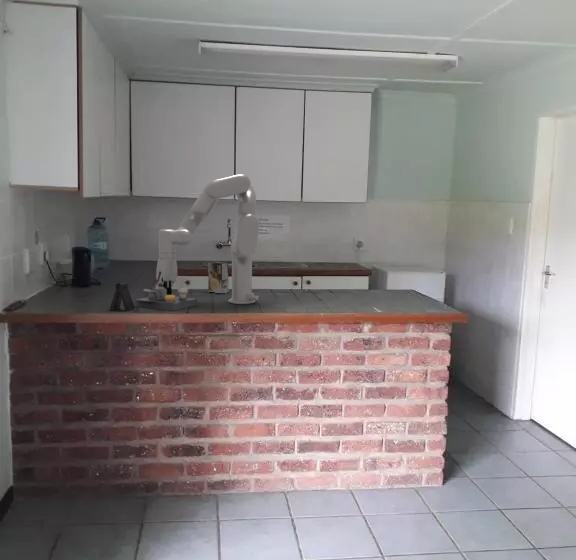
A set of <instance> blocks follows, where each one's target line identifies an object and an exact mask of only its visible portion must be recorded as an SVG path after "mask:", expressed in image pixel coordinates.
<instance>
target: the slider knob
mask: <svg viewBox="0 0 576 560" xmlns="http://www.w3.org/2000/svg"><path fill="white" fill-rule="evenodd" d="M156 290H157V299H165V295H167V289H165V287H163V286H159V287H158V288H157V289H156Z"/></svg>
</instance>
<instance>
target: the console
mask: <svg viewBox="0 0 576 560" xmlns="http://www.w3.org/2000/svg"><path fill="white" fill-rule="evenodd" d="M196 306H198V299H197V298H193V297H186V300H179V296H176V295H175V301H174V302H173V303H167V302H166V301H165V299H157V295H153V294H149V293H148V295H147V297H142V298H137V299H134V307H136V308H137V307H140V308H146V309H155V310H162V311H163V310H164V311H170V312H171V311H172V312H174V311H175V312H176V311H180V310H184V309H188V308H190V307H196Z"/></svg>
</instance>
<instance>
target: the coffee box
mask: <svg viewBox="0 0 576 560" xmlns="http://www.w3.org/2000/svg"><path fill="white" fill-rule="evenodd" d="M207 270H208V271H207V275H208V276H207V277H208V279H207V280H208V281H207V283H208V286H207V287H208V288H207V289H208V293H209V292H215V293H225V294H228V293H227V292H229V262H226V261H225V262H224V261H222V262H221V261H210V262H207ZM215 293H214V294H215Z"/></svg>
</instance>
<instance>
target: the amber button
mask: <svg viewBox="0 0 576 560" xmlns="http://www.w3.org/2000/svg"><path fill="white" fill-rule="evenodd" d="M175 296H176V295H175V294H172V295H165V301H166V302H167V303H173V302H174V301H175Z"/></svg>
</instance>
